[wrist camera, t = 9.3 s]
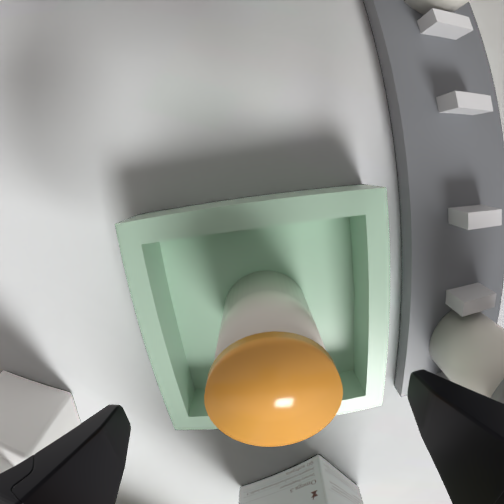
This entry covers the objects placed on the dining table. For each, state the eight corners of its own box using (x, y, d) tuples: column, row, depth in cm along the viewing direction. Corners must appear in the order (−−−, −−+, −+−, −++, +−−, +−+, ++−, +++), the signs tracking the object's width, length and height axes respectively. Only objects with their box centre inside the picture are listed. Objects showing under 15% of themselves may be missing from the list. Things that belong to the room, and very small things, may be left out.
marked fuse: (310, 339, 16) (341, 436, 9) (230, 350, 16) (219, 451, 9) (304, 262, 15) (343, 334, 8) (215, 274, 15) (189, 353, 8)
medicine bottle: (2, 368, 18) (-84, 457, 6) (73, 390, 18) (-11, 515, 6) (28, 431, 20) (-32, 519, 8) (94, 454, 20) (43, 565, 8)
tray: (366, 374, 17) (382, 405, 14) (184, 396, 18) (175, 430, 15) (362, 184, 15) (386, 187, 12) (139, 214, 15) (115, 224, 12)
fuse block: (478, 359, 17) (543, 426, 9) (394, 386, 18) (446, 479, 10) (441, -33, 11) (505, -88, 3) (344, -51, 11) (385, -138, 3)
